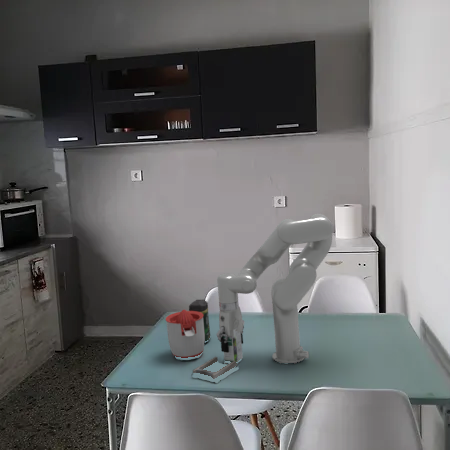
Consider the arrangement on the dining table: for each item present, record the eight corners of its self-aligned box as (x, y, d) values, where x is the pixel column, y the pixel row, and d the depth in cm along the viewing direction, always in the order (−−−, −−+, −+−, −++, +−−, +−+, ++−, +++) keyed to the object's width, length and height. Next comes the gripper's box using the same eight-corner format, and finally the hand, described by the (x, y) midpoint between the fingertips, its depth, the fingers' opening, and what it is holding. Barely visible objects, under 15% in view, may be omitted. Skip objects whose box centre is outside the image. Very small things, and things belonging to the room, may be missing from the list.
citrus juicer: (173, 368, 201) (168, 319, 198) (166, 352, 218) (162, 307, 215) (212, 360, 205) (207, 312, 202) (202, 346, 222) (198, 301, 219)
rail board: (239, 369, 195) (238, 361, 195) (217, 383, 184) (216, 375, 184) (214, 363, 202) (213, 356, 202) (191, 377, 191) (190, 369, 191)
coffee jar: (207, 345, 222) (203, 304, 219) (190, 345, 224) (186, 304, 221) (212, 337, 231) (209, 297, 229) (196, 337, 233) (192, 298, 231)
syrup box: (223, 363, 201) (220, 328, 199) (230, 357, 207) (227, 323, 205) (236, 365, 199) (233, 329, 197) (243, 359, 204) (240, 324, 202)
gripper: (223, 313, 190) (227, 357, 193) (249, 300, 204) (252, 341, 206) (207, 310, 195) (211, 353, 197) (233, 298, 209) (237, 338, 211)
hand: (232, 347), depth 202 cm, fingers open, 9 cm apart
